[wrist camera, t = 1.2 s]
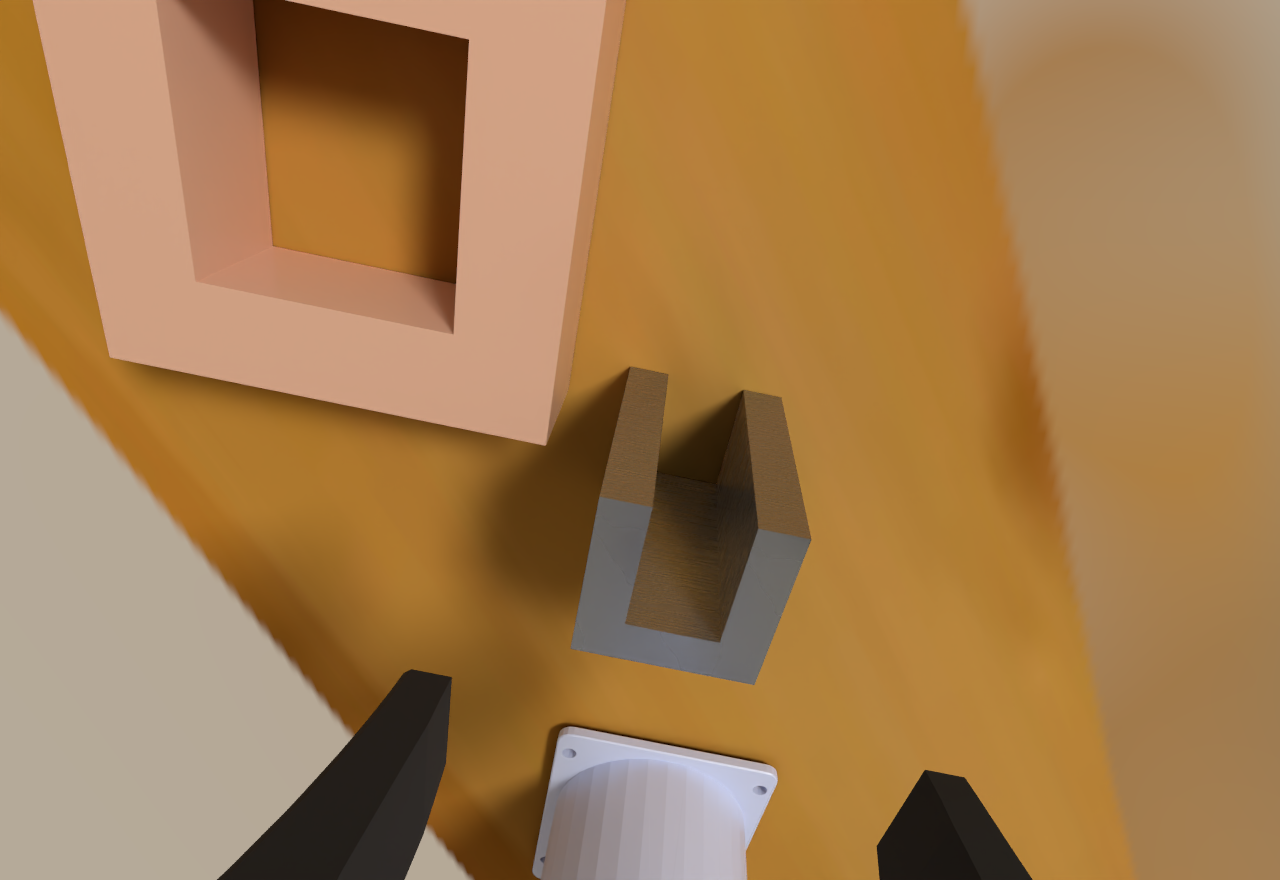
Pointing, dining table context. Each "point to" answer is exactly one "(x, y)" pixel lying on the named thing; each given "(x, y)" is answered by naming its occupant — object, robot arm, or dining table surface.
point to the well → (320, 286)
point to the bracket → (693, 544)
